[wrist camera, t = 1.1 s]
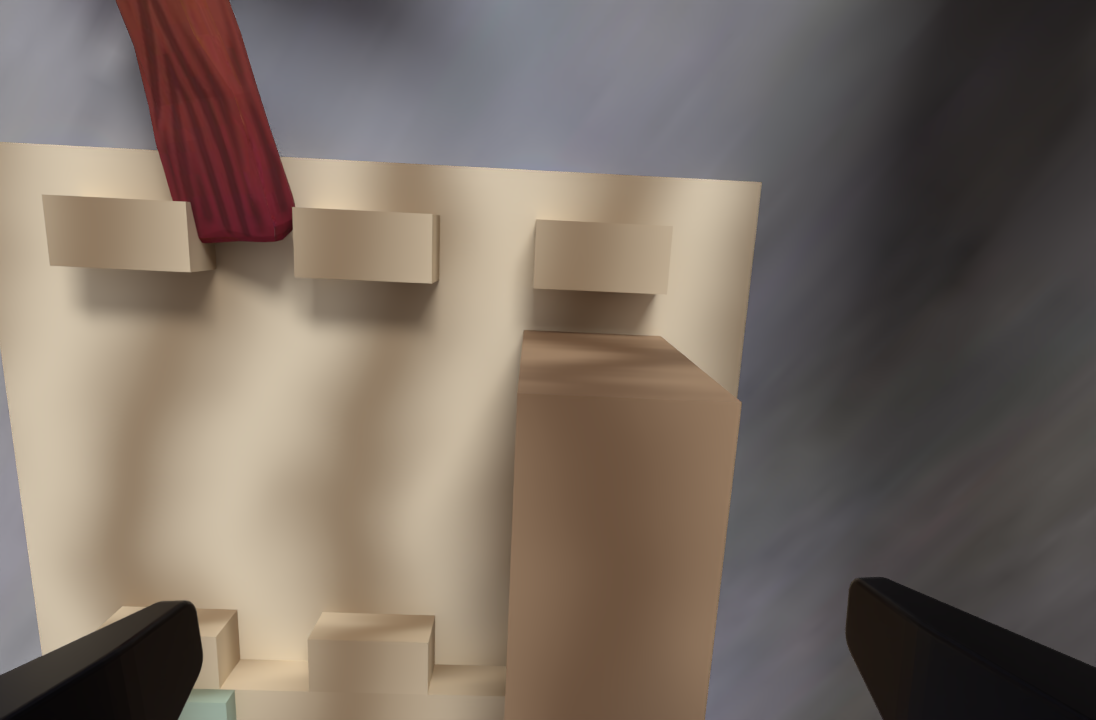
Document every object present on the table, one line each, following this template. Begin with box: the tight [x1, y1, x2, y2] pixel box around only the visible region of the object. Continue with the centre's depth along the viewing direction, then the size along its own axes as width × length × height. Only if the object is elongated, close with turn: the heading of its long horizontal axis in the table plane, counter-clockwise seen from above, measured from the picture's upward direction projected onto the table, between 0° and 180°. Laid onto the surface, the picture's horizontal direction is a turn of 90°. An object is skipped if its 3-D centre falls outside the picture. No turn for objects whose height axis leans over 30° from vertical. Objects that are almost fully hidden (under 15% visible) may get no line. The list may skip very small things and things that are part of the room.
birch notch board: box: [0, 142, 762, 720], centre depth 20 cm, size 24×19×3 cm
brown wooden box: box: [504, 330, 742, 720], centre depth 17 cm, size 4×9×8 cm, turn 177°
